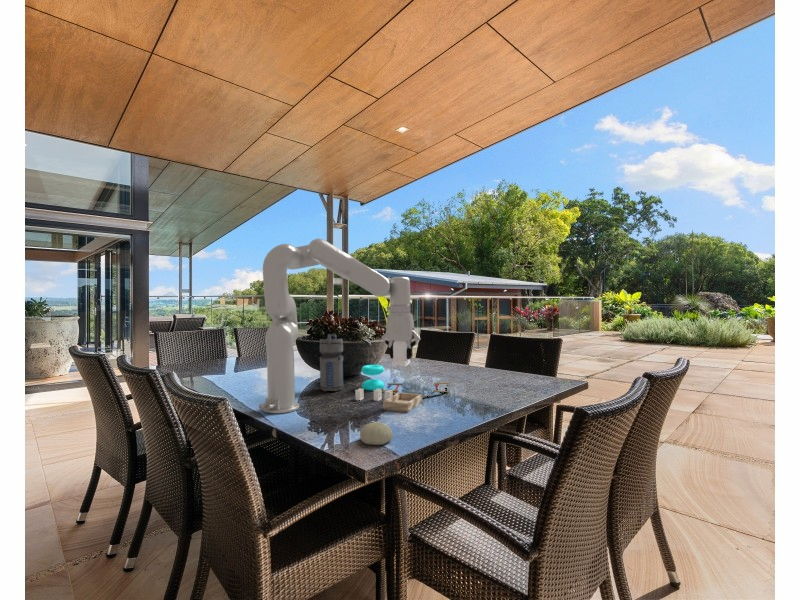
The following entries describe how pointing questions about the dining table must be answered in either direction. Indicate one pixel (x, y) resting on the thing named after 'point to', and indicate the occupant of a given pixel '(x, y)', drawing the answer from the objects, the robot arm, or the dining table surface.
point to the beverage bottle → (331, 363)
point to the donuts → (372, 383)
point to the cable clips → (377, 394)
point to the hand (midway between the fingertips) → (401, 357)
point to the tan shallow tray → (402, 402)
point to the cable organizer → (400, 354)
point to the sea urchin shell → (376, 434)
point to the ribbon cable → (401, 384)
